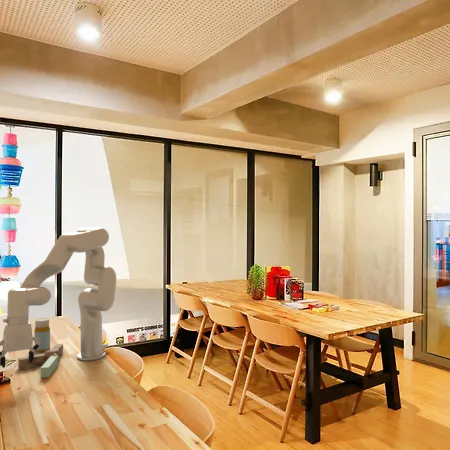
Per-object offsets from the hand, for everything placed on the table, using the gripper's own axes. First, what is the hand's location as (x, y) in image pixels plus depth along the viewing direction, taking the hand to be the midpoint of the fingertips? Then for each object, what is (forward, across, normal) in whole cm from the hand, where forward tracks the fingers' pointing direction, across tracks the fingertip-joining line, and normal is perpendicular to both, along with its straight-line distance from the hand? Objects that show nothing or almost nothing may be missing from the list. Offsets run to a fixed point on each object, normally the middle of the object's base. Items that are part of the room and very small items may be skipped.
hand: (17, 364), depth 161 cm
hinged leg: (+6, +14, +5) cm, 16 cm away
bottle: (+6, +19, +37) cm, 42 cm away
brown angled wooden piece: (+7, +16, +18) cm, 25 cm away
